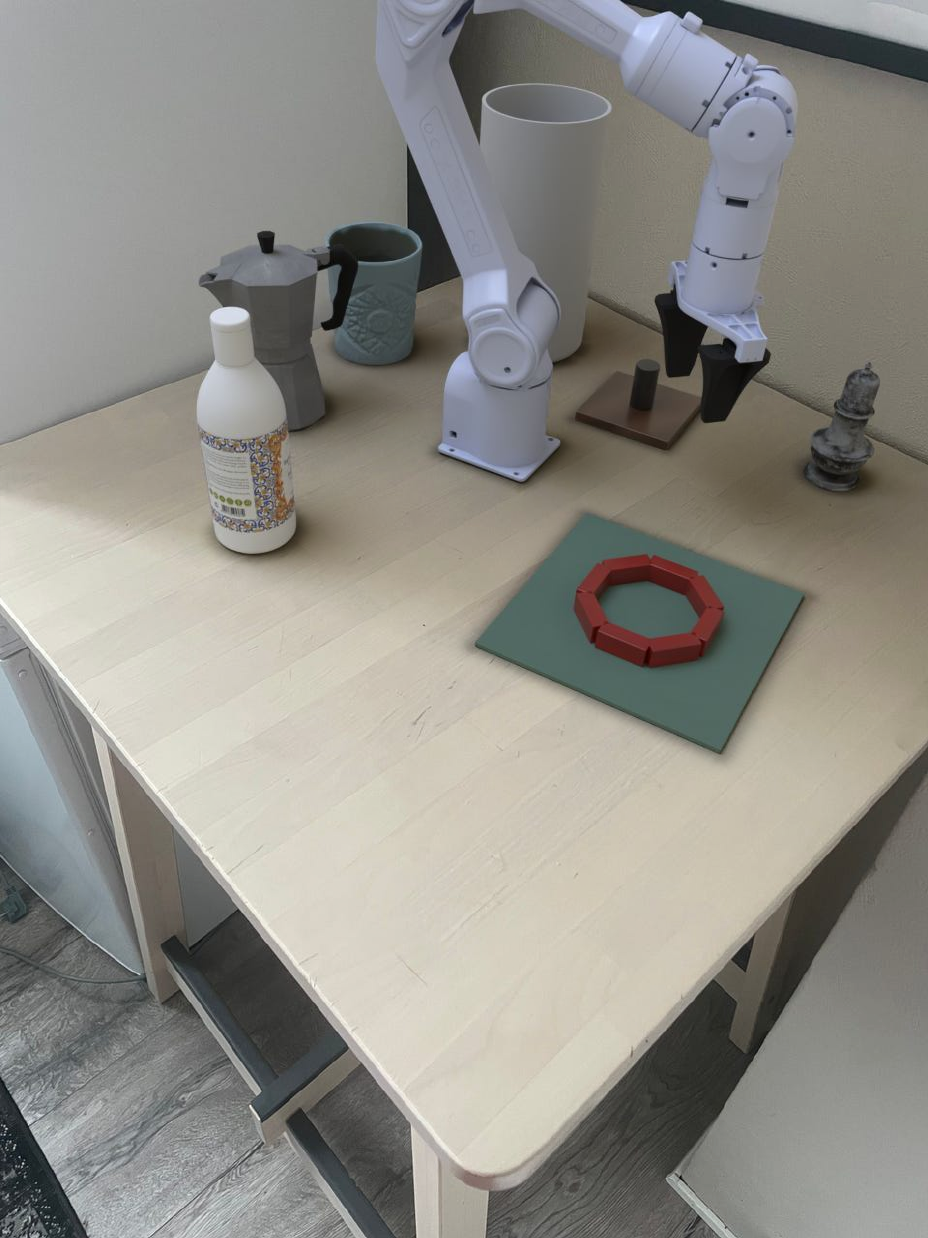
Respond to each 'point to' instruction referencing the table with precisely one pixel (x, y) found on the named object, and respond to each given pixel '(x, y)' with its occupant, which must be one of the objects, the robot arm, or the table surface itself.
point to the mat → (645, 633)
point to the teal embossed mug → (377, 291)
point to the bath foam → (244, 442)
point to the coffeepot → (284, 312)
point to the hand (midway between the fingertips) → (694, 397)
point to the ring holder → (640, 406)
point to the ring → (637, 645)
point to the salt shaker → (845, 435)
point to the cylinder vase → (550, 186)
